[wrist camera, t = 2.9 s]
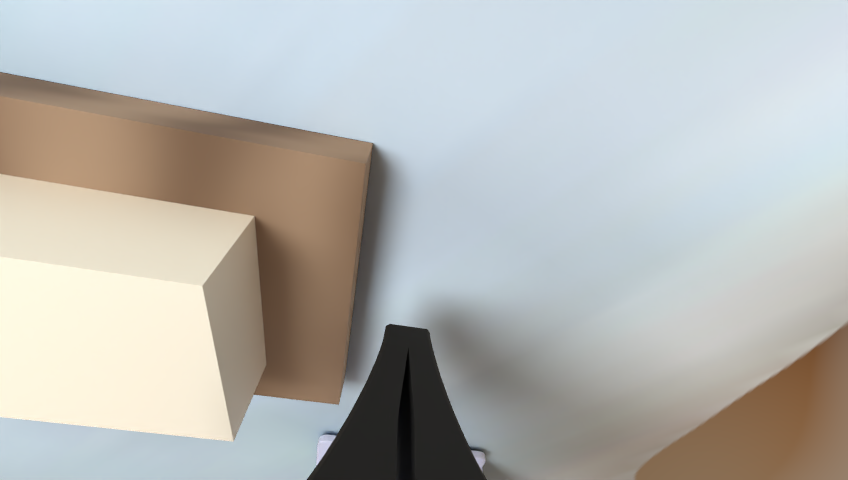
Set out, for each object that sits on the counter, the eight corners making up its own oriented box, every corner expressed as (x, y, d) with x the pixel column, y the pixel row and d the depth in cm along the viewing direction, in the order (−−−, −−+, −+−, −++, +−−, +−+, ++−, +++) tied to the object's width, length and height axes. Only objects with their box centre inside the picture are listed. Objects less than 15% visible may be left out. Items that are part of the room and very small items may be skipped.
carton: (254, 216, 11) (202, 285, 8) (266, 364, 15) (233, 441, 12) (-53, 165, 10) (-213, 226, 7) (47, 336, 14) (-35, 413, 11)
